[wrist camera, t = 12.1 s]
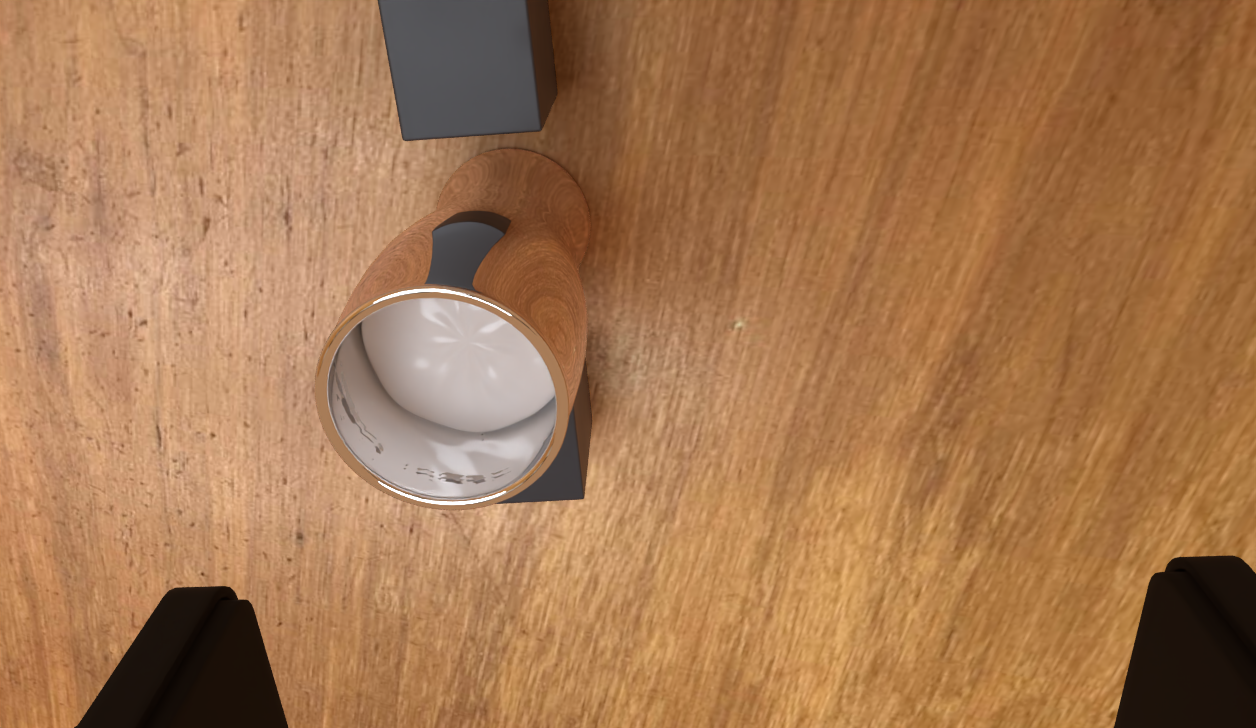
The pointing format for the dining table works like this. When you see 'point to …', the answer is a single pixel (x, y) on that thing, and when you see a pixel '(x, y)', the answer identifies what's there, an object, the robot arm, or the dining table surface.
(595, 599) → the dining table surface
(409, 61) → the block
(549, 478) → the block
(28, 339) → the dining table surface
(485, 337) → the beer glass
